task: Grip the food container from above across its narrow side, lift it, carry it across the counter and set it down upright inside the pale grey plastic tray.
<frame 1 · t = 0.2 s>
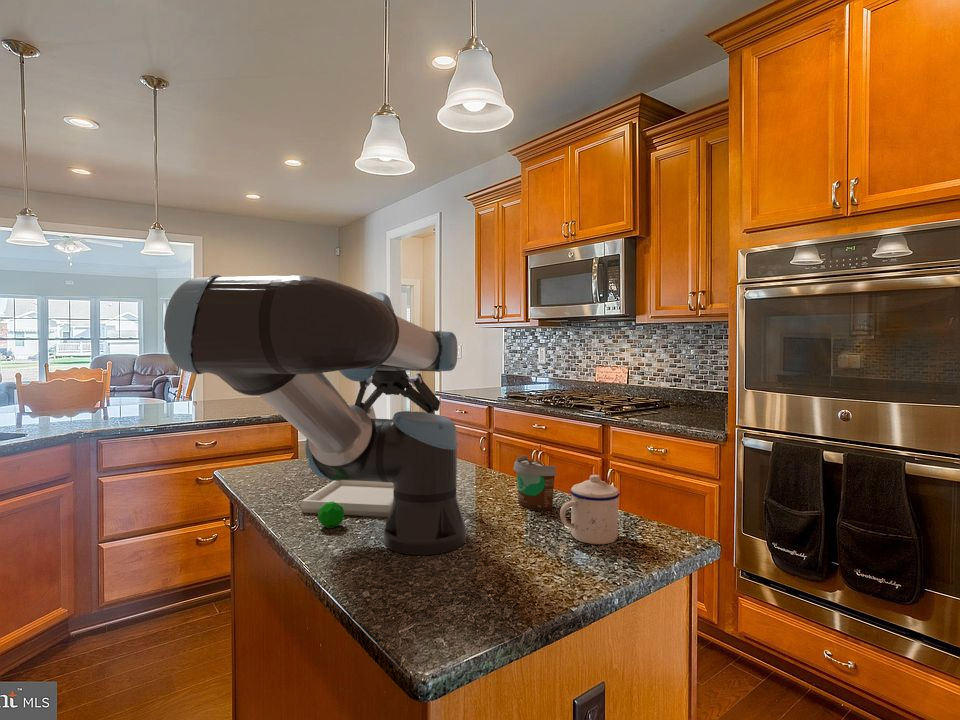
hand: (402, 429, 130), 15 cm above the counter, tool tilted 35°, fingers open, 13 cm apart
teacup with lid: (587, 538, 101), on the counter
polyhedron: (331, 527, 106), on the counter
tray: (361, 501, 123), on the counter
food container: (528, 506, 121), on the counter
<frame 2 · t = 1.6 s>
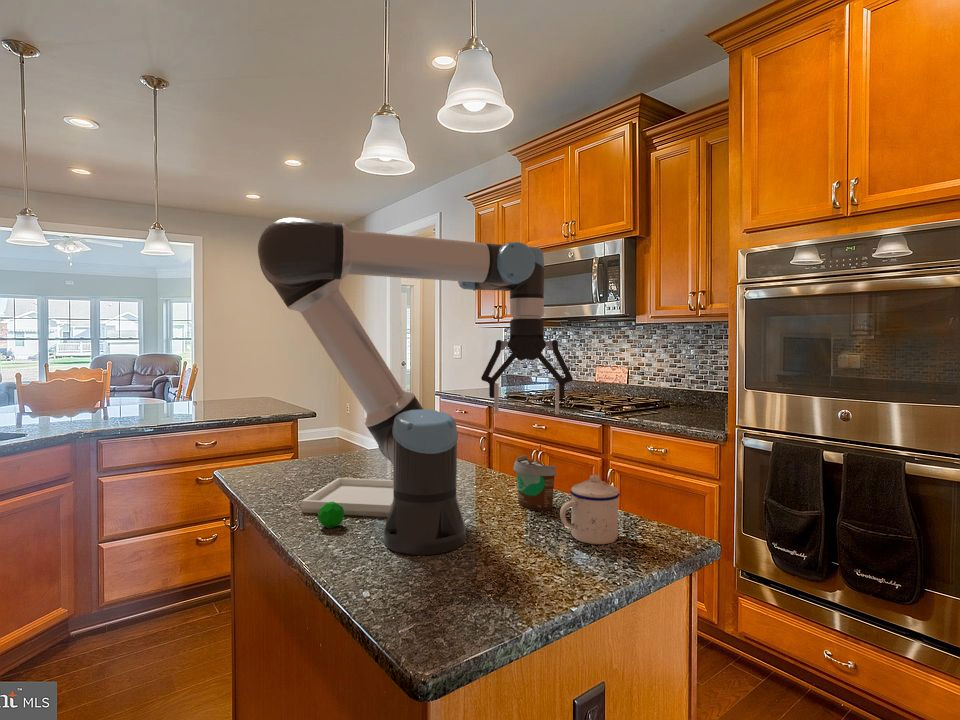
hand: (526, 413, 121), 21 cm above the counter, tool pointing down, fingers open, 13 cm apart
nothing on the counter moved.
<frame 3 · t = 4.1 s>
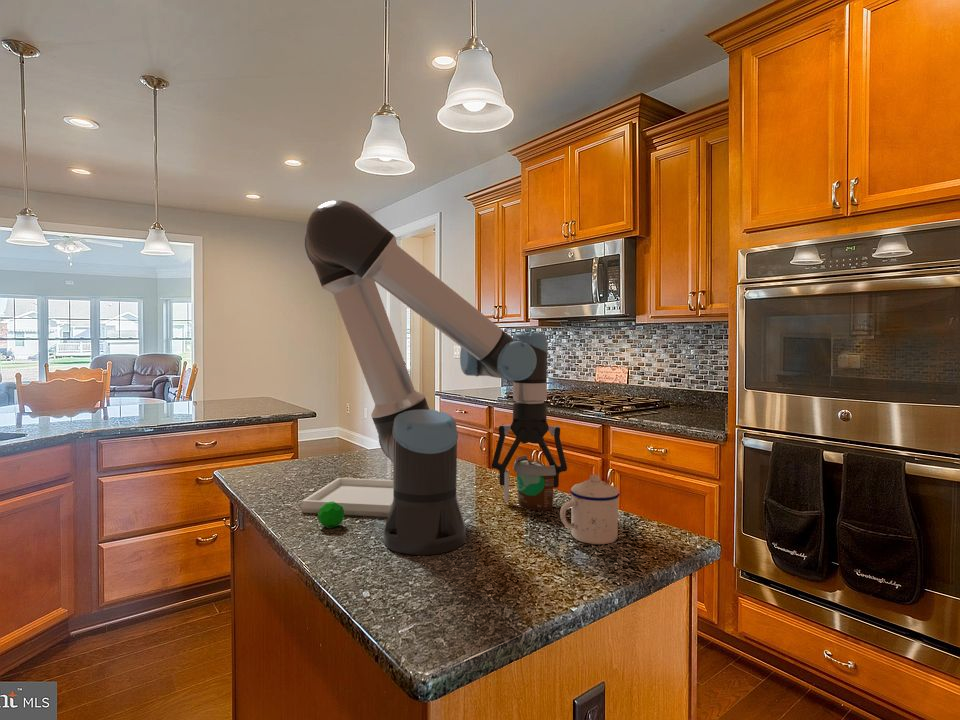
hand: (528, 500, 121), 1 cm above the counter, tool pointing down, fingers open, 9 cm apart
food container: (528, 506, 121), on the counter, touching gripper
everything else where it was.
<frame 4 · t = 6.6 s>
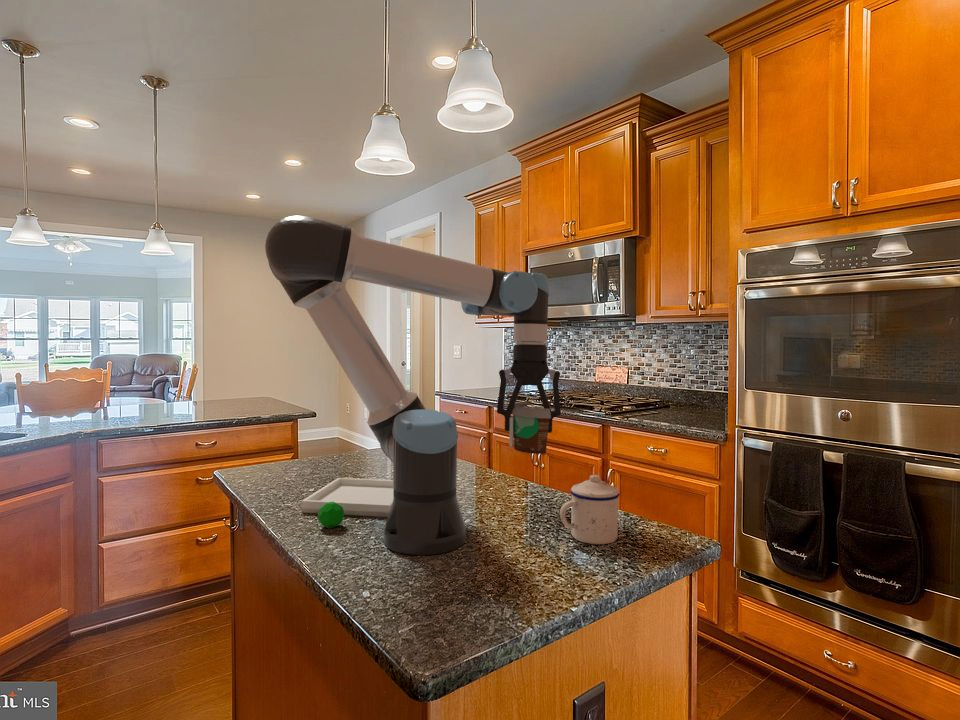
hand: (528, 446, 120), 13 cm above the counter, tool pointing down, fingers closed on food container, 7 cm apart
food container: (523, 450, 120), point 12 cm above the counter, touching gripper
everything else where it was.
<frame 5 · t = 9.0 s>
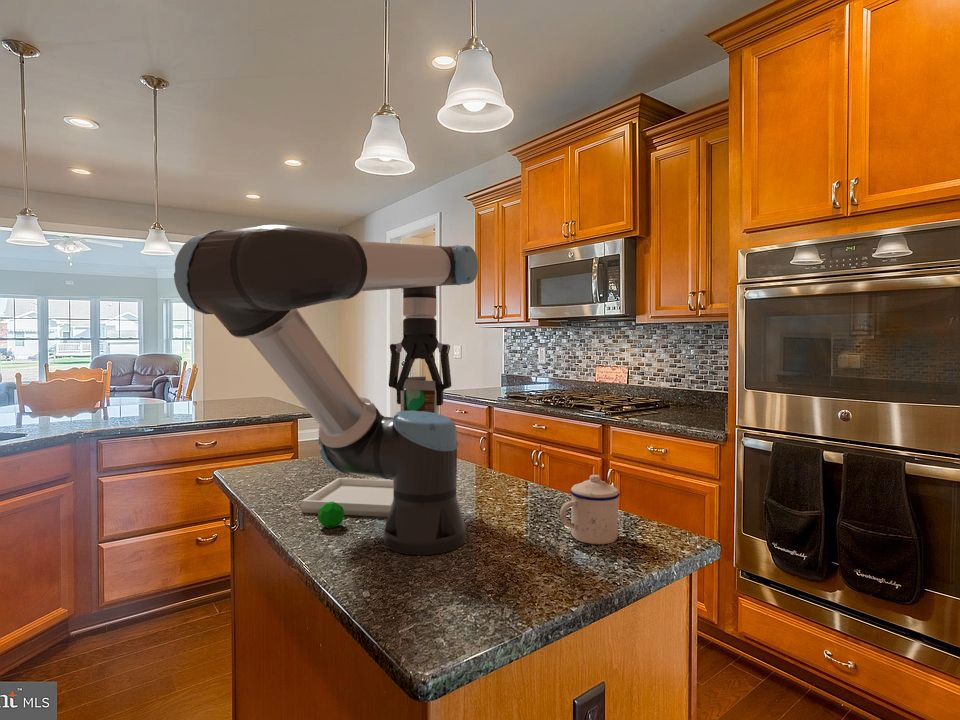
hand: (419, 419, 122), 19 cm above the counter, tool pointing down, fingers closed on food container, 7 cm apart
food container: (415, 423, 122), point 18 cm above the counter, touching gripper
everything else where it was.
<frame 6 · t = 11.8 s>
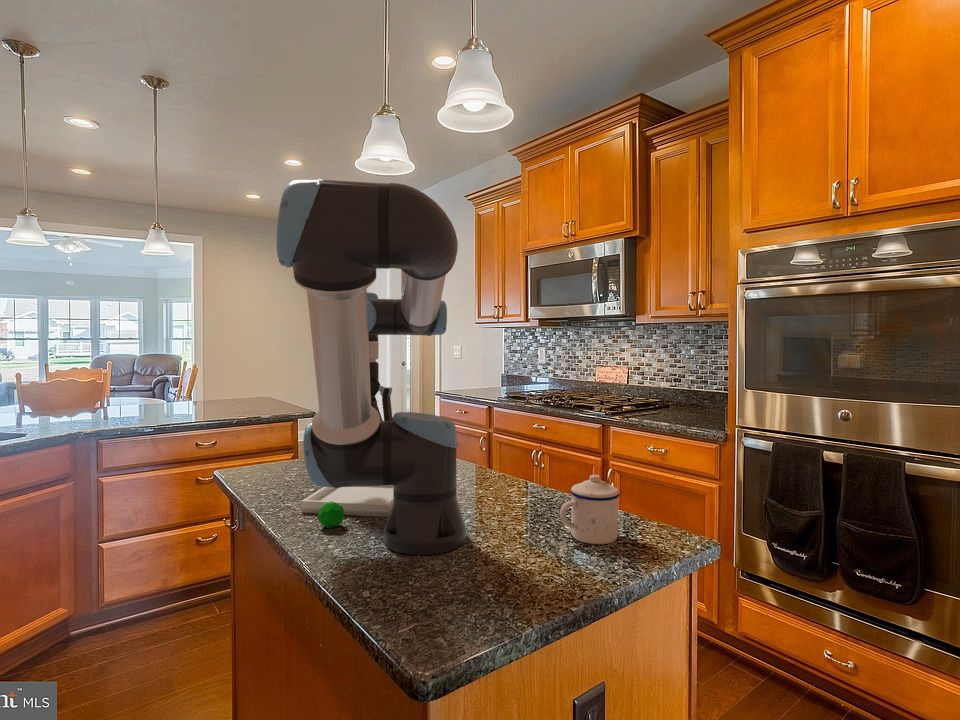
hand: (361, 461, 123), 9 cm above the counter, tool pointing down, fingers closed on food container, 7 cm apart
food container: (357, 465, 123), point 8 cm above the counter, touching gripper
everything else where it was.
when the fingers open (3 cm above the counter, at t = 13.7 s): food container drops 2 cm, resting on tray.
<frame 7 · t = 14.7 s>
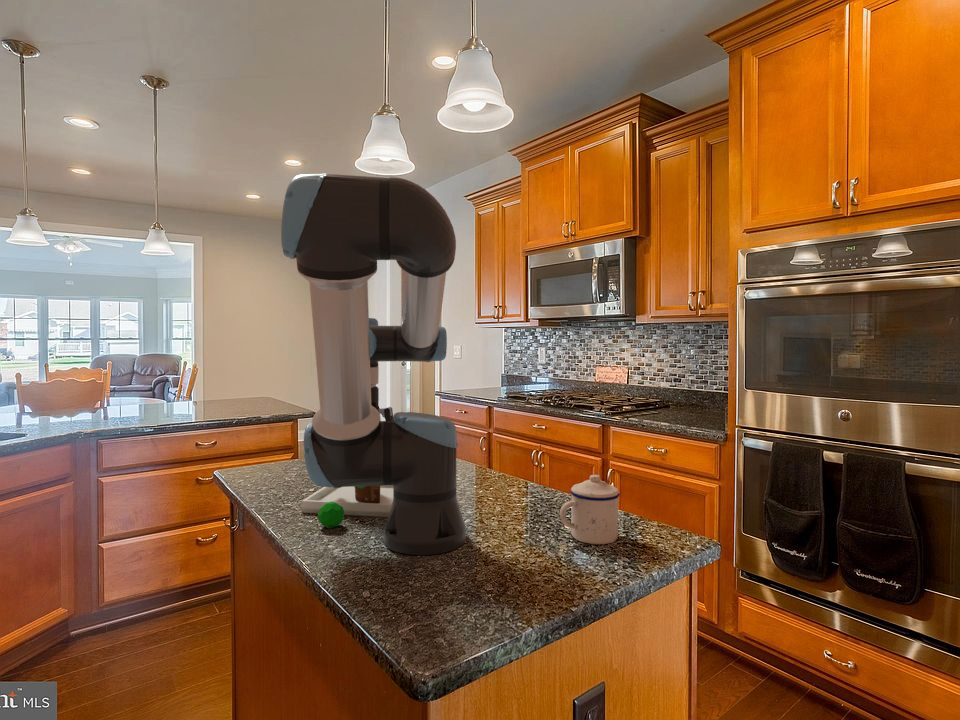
hand: (361, 478, 123), 5 cm above the counter, tool pointing down, fingers open, 13 cm apart
food container: (363, 499, 122), point 1 cm above the counter, touching tray
everything else where it was.
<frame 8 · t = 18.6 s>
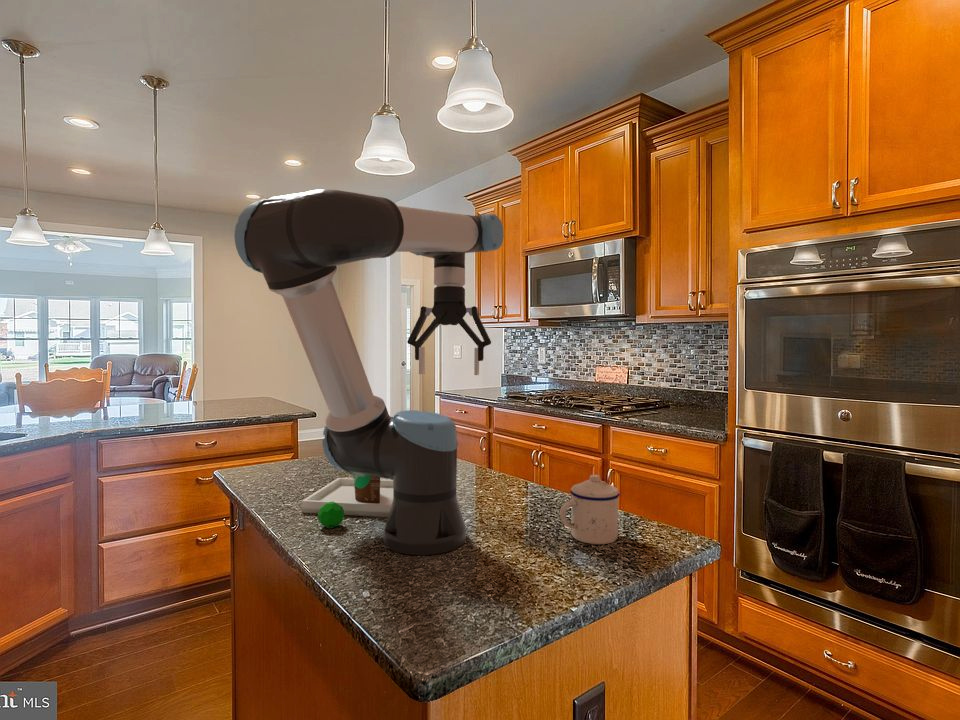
hand: (449, 374, 131), 29 cm above the counter, tool pointing down, fingers open, 13 cm apart
nothing on the counter moved.
at the end: food container inside the target area on the tray (1.4 cm from its centre), point 0.8 cm above the tray's base; food container tilted 0°; the gripper is holding nothing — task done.
